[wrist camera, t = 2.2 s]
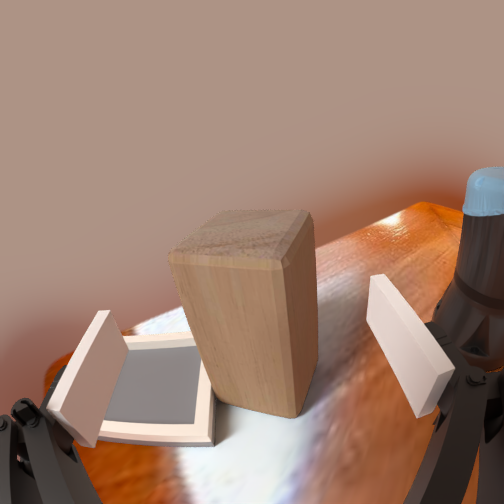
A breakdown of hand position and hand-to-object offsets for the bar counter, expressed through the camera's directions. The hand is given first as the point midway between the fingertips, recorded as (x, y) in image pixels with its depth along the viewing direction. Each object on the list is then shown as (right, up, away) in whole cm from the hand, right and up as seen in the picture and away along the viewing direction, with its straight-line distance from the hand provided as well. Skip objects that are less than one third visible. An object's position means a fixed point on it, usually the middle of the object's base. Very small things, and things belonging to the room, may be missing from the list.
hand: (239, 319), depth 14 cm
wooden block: (+3, -13, +19) cm, 23 cm away
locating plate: (-12, -15, +19) cm, 27 cm away
